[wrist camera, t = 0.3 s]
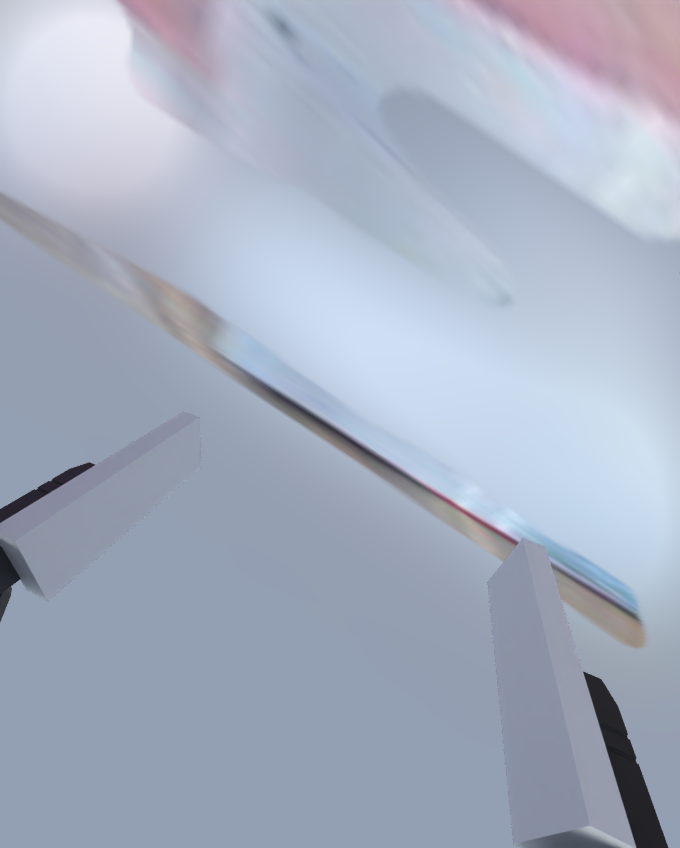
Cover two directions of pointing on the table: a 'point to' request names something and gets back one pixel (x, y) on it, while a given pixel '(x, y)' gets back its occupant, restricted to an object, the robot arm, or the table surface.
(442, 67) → the table surface
